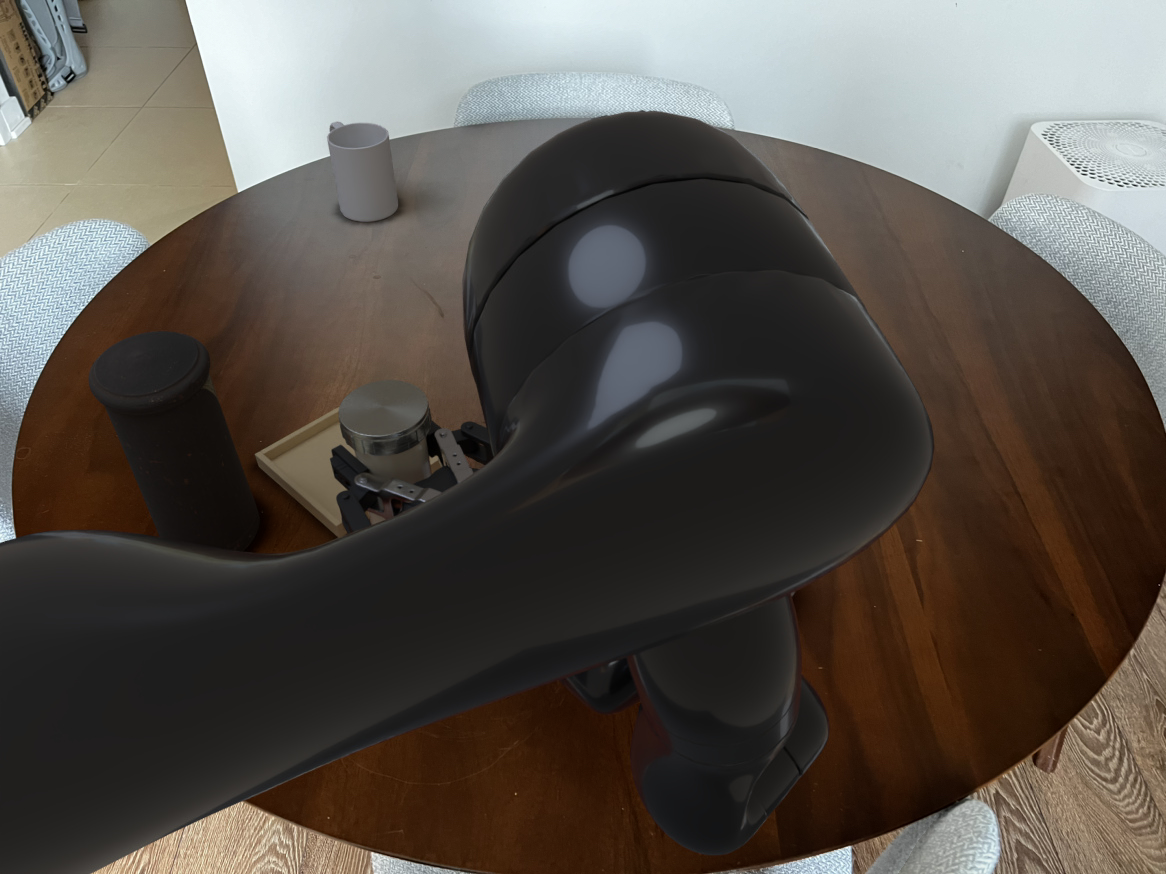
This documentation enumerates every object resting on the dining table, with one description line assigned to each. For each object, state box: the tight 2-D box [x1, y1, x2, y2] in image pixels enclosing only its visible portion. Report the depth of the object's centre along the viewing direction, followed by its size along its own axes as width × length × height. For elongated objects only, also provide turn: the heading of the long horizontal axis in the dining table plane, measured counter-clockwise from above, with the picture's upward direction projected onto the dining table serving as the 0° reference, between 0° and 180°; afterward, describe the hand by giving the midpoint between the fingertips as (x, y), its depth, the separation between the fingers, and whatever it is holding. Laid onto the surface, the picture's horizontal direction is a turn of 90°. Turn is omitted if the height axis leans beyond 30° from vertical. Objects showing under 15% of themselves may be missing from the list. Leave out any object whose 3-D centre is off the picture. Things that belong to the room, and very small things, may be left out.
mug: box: [326, 121, 399, 223], centre depth 123 cm, size 12×8×10 cm, turn 37°
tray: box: [254, 405, 441, 538], centre depth 88 cm, size 13×13×2 cm
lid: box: [338, 379, 433, 456], centre depth 62 cm, size 6×6×2 cm
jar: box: [354, 437, 432, 525], centre depth 65 cm, size 5×5×10 cm
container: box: [88, 330, 261, 552], centre depth 75 cm, size 9×9×20 cm
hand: (371, 438), depth 65 cm, fingers closed on jar, 5 cm apart
